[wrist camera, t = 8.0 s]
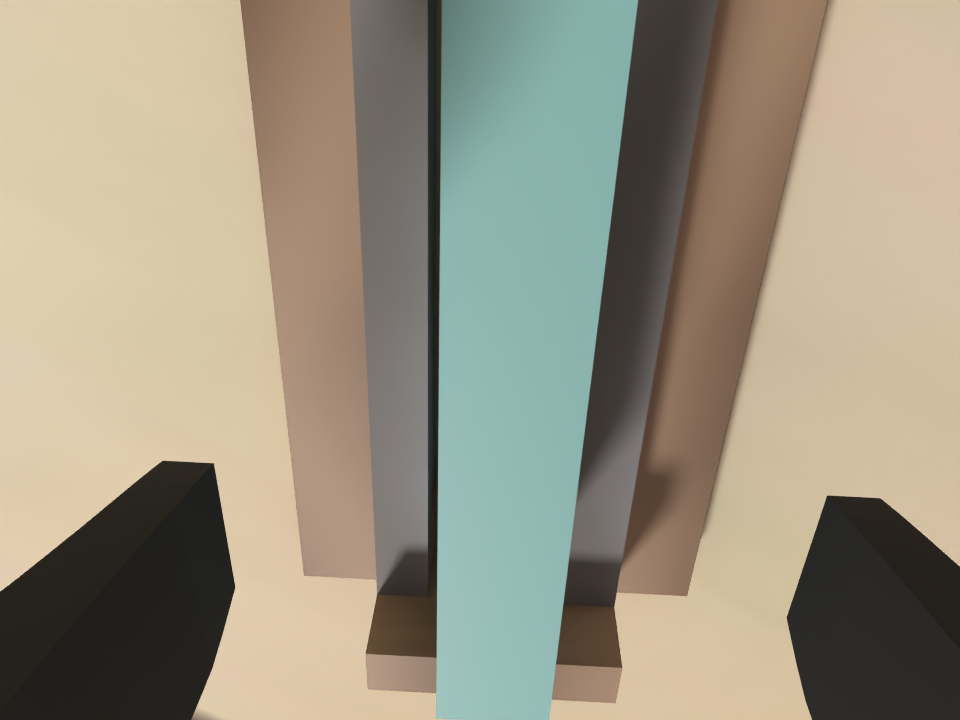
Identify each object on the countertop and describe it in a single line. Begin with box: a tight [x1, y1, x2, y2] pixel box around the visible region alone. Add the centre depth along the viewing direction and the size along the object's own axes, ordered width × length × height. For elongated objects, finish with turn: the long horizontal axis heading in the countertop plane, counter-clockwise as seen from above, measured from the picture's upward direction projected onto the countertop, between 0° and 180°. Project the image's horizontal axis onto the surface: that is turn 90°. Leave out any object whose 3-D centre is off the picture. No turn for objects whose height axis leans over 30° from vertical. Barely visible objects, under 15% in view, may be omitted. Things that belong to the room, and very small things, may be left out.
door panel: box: [436, 0, 638, 720], centre depth 14 cm, size 2×12×6 cm, turn 178°
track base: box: [240, 0, 827, 703], centre depth 15 cm, size 10×18×4 cm, turn 178°
